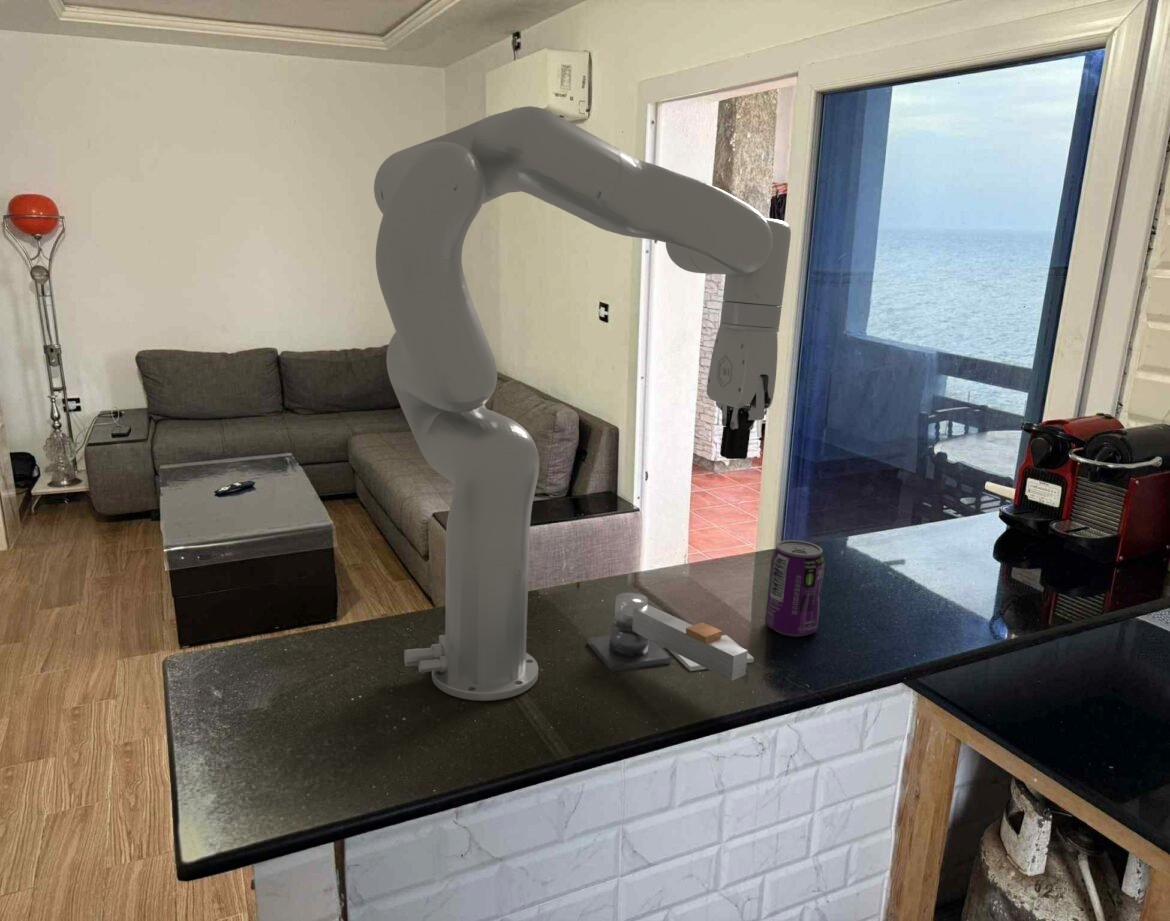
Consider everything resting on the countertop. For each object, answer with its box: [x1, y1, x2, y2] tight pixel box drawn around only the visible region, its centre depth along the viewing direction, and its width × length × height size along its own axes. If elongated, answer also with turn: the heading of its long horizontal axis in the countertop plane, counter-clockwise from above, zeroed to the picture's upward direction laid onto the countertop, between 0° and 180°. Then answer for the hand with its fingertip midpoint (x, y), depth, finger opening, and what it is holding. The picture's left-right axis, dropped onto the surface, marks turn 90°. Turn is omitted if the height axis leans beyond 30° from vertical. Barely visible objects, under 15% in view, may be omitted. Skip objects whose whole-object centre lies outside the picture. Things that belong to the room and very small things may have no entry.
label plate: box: [667, 634, 755, 672], centre depth 111 cm, size 9×7×1 cm
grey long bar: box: [613, 592, 749, 682], centre depth 103 cm, size 20×4×4 cm, turn 41°
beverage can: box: [764, 539, 826, 638], centre depth 119 cm, size 7×7×12 cm
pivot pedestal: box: [587, 622, 671, 673], centre depth 110 cm, size 8×8×4 cm
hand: (733, 457), depth 115 cm, fingers closed
